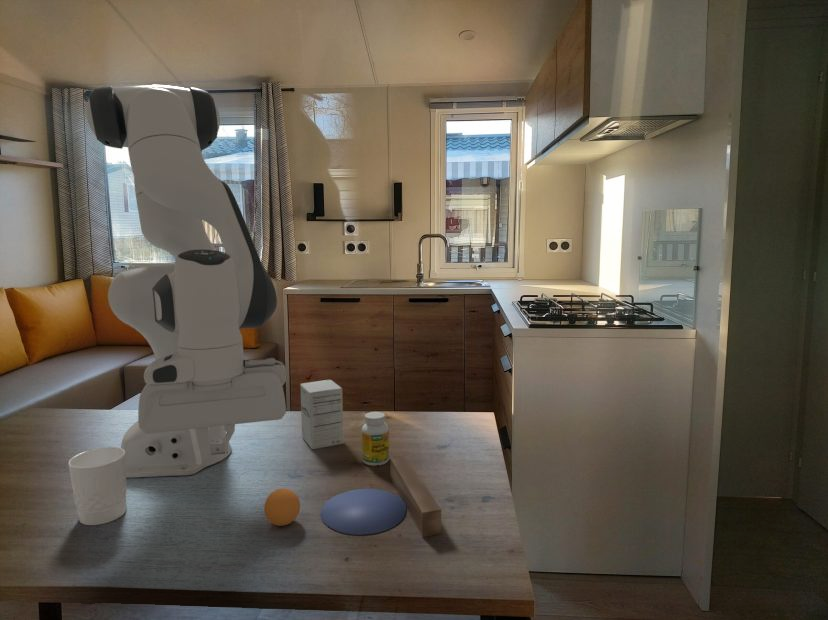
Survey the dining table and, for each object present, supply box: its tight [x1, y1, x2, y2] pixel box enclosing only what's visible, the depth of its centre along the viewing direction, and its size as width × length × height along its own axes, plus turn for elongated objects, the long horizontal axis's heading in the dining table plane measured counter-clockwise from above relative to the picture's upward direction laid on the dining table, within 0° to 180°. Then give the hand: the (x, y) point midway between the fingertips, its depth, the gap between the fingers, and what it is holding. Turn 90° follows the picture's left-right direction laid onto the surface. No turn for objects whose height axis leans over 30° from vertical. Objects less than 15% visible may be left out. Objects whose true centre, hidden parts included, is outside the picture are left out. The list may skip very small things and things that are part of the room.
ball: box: [263, 488, 301, 527], centre depth 84 cm, size 6×6×6 cm
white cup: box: [67, 446, 128, 526], centre depth 87 cm, size 8×8×10 cm
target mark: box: [320, 488, 407, 536], centre depth 88 cm, size 14×14×1 cm
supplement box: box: [300, 379, 344, 450], centre depth 116 cm, size 7×7×13 cm
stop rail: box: [389, 455, 442, 538], centre depth 90 cm, size 3×20×4 cm, turn 17°
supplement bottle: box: [361, 411, 390, 467], centre depth 106 cm, size 5×5×10 cm
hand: (218, 453), depth 80 cm, fingers closed
